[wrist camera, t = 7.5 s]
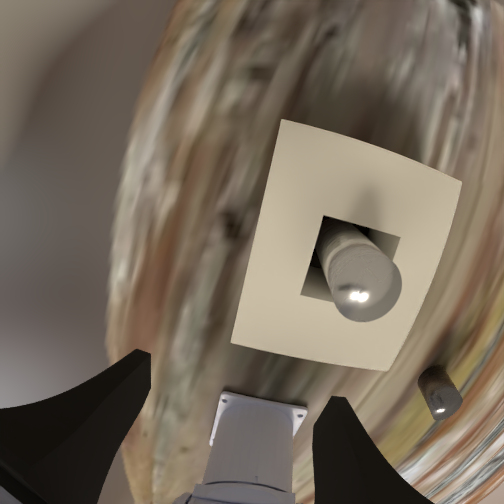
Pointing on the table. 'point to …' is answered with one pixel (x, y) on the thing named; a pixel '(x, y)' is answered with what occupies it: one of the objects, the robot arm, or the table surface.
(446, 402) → the short pin
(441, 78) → the table surface
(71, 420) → the robot arm
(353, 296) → the long pin
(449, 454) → the table surface
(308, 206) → the hole block
